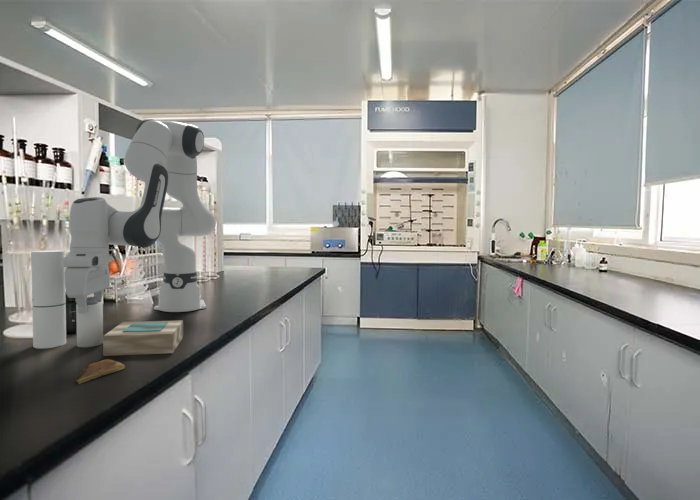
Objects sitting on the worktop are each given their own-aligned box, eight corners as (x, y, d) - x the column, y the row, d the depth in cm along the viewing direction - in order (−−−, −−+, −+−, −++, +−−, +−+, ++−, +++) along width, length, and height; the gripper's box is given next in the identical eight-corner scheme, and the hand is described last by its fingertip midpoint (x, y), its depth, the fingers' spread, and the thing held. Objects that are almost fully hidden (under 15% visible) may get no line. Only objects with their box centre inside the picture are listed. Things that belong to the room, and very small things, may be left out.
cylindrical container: (63, 339, 115) (61, 250, 114) (68, 345, 110) (67, 251, 109) (31, 344, 110) (29, 250, 109) (35, 350, 105) (33, 252, 104)
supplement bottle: (56, 335, 119) (55, 294, 119) (61, 329, 125) (61, 290, 125) (84, 333, 122) (83, 293, 121) (88, 327, 128) (87, 289, 128)
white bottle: (82, 341, 114) (81, 296, 113) (106, 340, 115) (105, 295, 114) (72, 347, 108) (72, 300, 107) (98, 346, 109) (97, 299, 108)
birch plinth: (122, 339, 116) (122, 320, 116) (183, 337, 120) (183, 319, 119) (103, 356, 102) (103, 334, 101) (172, 353, 105) (172, 332, 105)
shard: (76, 387, 83) (76, 378, 83) (54, 380, 87) (54, 371, 87) (126, 371, 93) (126, 363, 93) (104, 365, 96) (104, 357, 96)
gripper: (91, 255, 119) (92, 303, 120) (59, 260, 99) (59, 317, 100) (115, 255, 121) (116, 302, 121) (88, 260, 101) (88, 316, 101)
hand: (90, 309), depth 110 cm, fingers open, 8 cm apart
